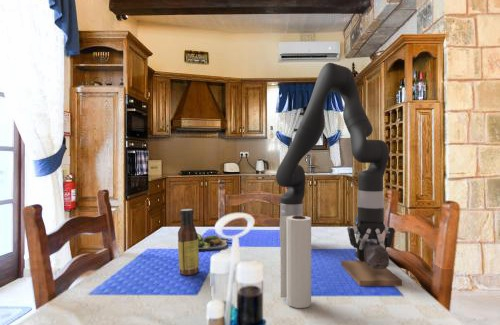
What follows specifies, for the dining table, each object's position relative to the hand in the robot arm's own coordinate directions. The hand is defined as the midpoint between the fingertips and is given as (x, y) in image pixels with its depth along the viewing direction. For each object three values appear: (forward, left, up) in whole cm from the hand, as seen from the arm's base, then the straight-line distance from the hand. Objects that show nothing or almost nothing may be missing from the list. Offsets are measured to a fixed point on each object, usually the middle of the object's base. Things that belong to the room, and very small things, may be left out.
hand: (370, 260), depth 95 cm
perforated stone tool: (0, 0, -1) cm, 1 cm away
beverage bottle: (+5, +15, -5) cm, 16 cm away
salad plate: (-55, +35, -5) cm, 65 cm away
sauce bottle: (-56, +4, -5) cm, 56 cm away
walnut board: (0, +1, -5) cm, 5 cm away
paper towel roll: (-25, -17, -5) cm, 31 cm away
